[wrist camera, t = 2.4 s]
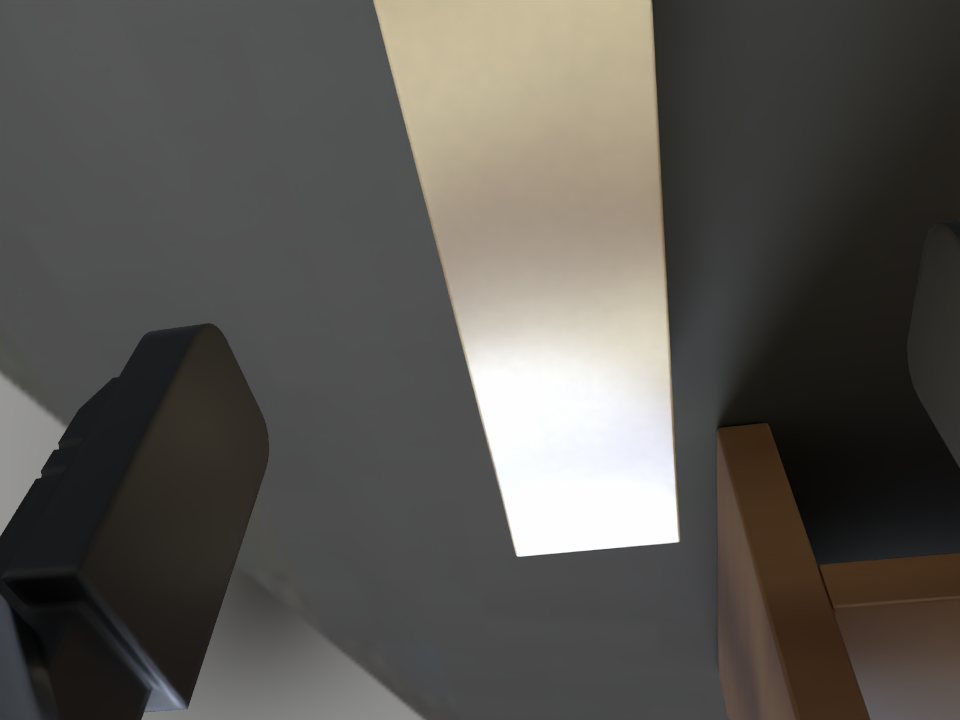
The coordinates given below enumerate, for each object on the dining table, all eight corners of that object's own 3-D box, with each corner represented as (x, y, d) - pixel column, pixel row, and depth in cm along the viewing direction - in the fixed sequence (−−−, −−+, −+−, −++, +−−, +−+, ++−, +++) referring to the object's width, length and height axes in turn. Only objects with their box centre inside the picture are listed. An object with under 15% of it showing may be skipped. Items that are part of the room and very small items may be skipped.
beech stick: (320, -469, 10) (233, -538, 7) (584, -544, 9) (618, -654, 6) (516, 418, 19) (516, 557, 16) (653, 402, 19) (680, 543, 16)
